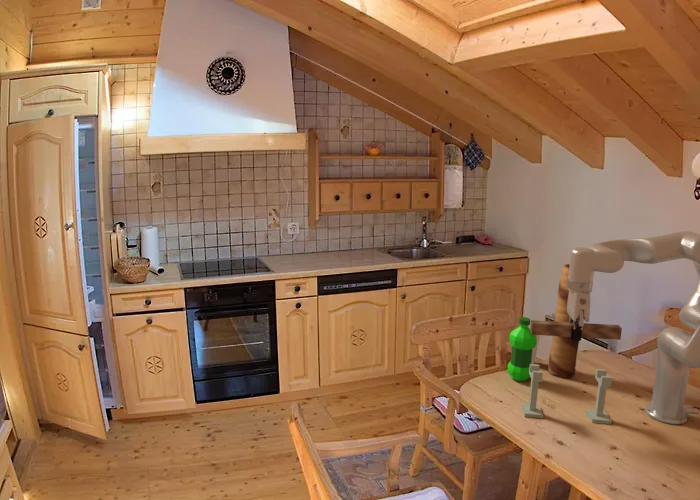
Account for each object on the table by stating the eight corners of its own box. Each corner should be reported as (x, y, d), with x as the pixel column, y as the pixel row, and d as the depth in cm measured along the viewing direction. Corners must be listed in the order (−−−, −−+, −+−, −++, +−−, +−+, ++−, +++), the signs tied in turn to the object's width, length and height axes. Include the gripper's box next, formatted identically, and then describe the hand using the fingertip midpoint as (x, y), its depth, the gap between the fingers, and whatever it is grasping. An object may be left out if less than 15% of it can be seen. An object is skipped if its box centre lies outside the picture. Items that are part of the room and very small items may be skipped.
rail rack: (604, 413, 181) (609, 369, 178) (610, 424, 175) (617, 378, 171) (521, 406, 185) (525, 363, 182) (524, 416, 179) (528, 372, 175)
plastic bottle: (537, 384, 202) (543, 323, 196) (510, 384, 202) (515, 323, 196) (528, 372, 212) (533, 314, 206) (502, 372, 211) (507, 314, 206)
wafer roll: (577, 371, 213) (590, 265, 204) (573, 381, 205) (585, 271, 195) (551, 365, 219) (562, 261, 209) (545, 374, 210) (556, 267, 200)
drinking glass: (537, 367, 216) (540, 333, 213) (520, 365, 218) (523, 332, 214) (535, 360, 223) (538, 327, 220) (518, 359, 224) (521, 326, 221)
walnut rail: (617, 336, 173) (618, 325, 172) (620, 339, 170) (621, 328, 169) (530, 331, 177) (531, 320, 176) (531, 334, 174) (532, 323, 173)
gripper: (599, 293, 161) (593, 348, 165) (584, 279, 177) (579, 329, 181) (574, 292, 162) (568, 347, 166) (561, 278, 178) (556, 328, 182)
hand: (574, 337), depth 174 cm, fingers closed on walnut rail, 3 cm apart
